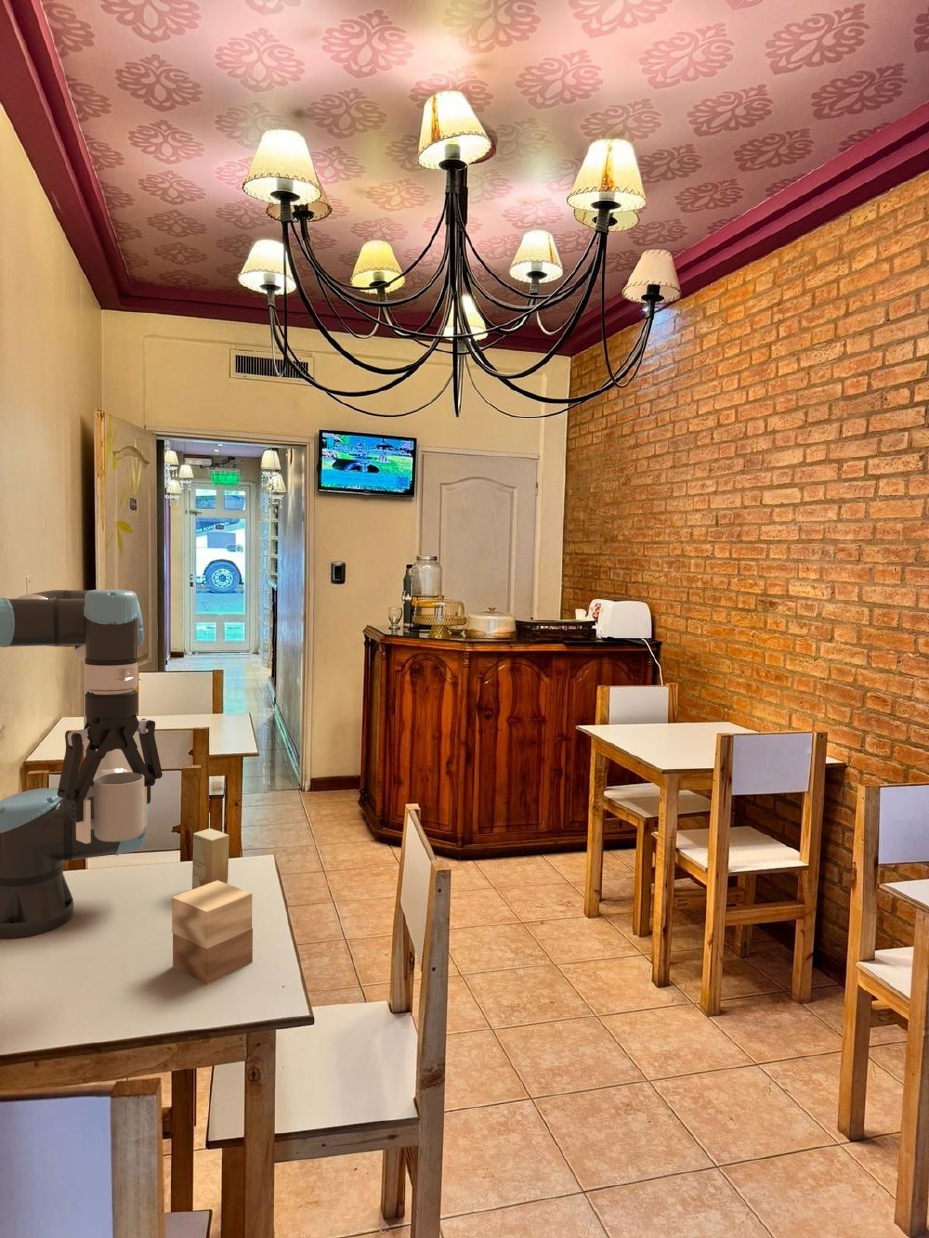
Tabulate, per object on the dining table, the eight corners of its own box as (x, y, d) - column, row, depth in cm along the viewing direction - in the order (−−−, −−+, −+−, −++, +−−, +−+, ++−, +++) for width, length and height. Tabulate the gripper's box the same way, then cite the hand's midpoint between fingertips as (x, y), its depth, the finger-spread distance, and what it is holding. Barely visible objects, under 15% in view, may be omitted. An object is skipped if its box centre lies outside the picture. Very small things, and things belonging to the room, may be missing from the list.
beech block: (172, 932, 132) (172, 897, 132) (217, 913, 140) (217, 880, 139) (206, 948, 127) (206, 911, 127) (251, 928, 134) (252, 893, 134)
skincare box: (191, 892, 162) (191, 832, 161) (209, 885, 166) (209, 827, 165) (211, 900, 159) (211, 839, 158) (229, 893, 162) (229, 833, 161)
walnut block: (172, 967, 133) (172, 932, 132) (217, 947, 140) (217, 913, 140) (207, 985, 128) (207, 948, 127) (252, 963, 135) (252, 928, 135)
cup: (144, 839, 125) (144, 782, 124) (73, 846, 121) (72, 788, 120) (143, 824, 131) (143, 770, 130) (75, 830, 127) (75, 775, 126)
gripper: (56, 702, 113) (57, 858, 115) (186, 684, 131) (186, 820, 133) (28, 695, 118) (30, 846, 119) (158, 679, 135) (158, 811, 137)
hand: (112, 832), depth 126 cm, fingers closed on cup, 9 cm apart
